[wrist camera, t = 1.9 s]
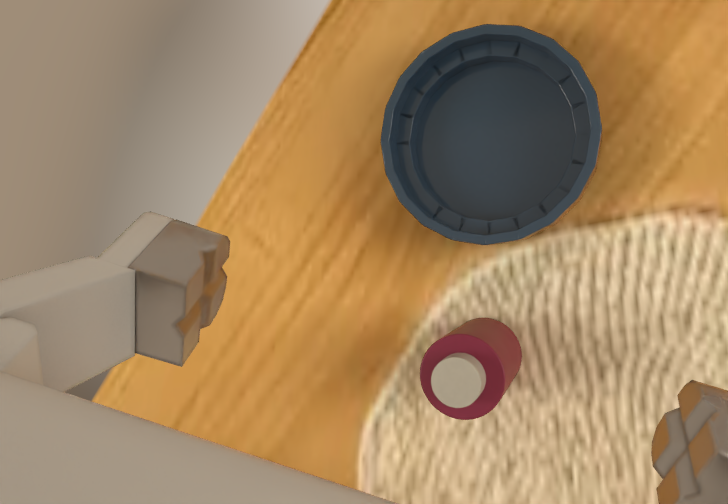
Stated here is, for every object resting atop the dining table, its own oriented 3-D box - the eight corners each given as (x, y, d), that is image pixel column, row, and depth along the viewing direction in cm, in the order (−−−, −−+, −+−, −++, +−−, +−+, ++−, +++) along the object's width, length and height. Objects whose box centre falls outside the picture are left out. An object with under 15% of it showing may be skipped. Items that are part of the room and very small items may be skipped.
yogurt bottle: (484, 302, 52) (455, 319, 42) (537, 356, 51) (520, 387, 40) (434, 351, 53) (394, 378, 43) (484, 404, 52) (455, 445, 42)
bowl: (494, -1, 51) (485, -21, 47) (648, 134, 48) (652, 125, 44) (360, 149, 55) (341, 142, 51) (494, 284, 52) (484, 288, 48)
